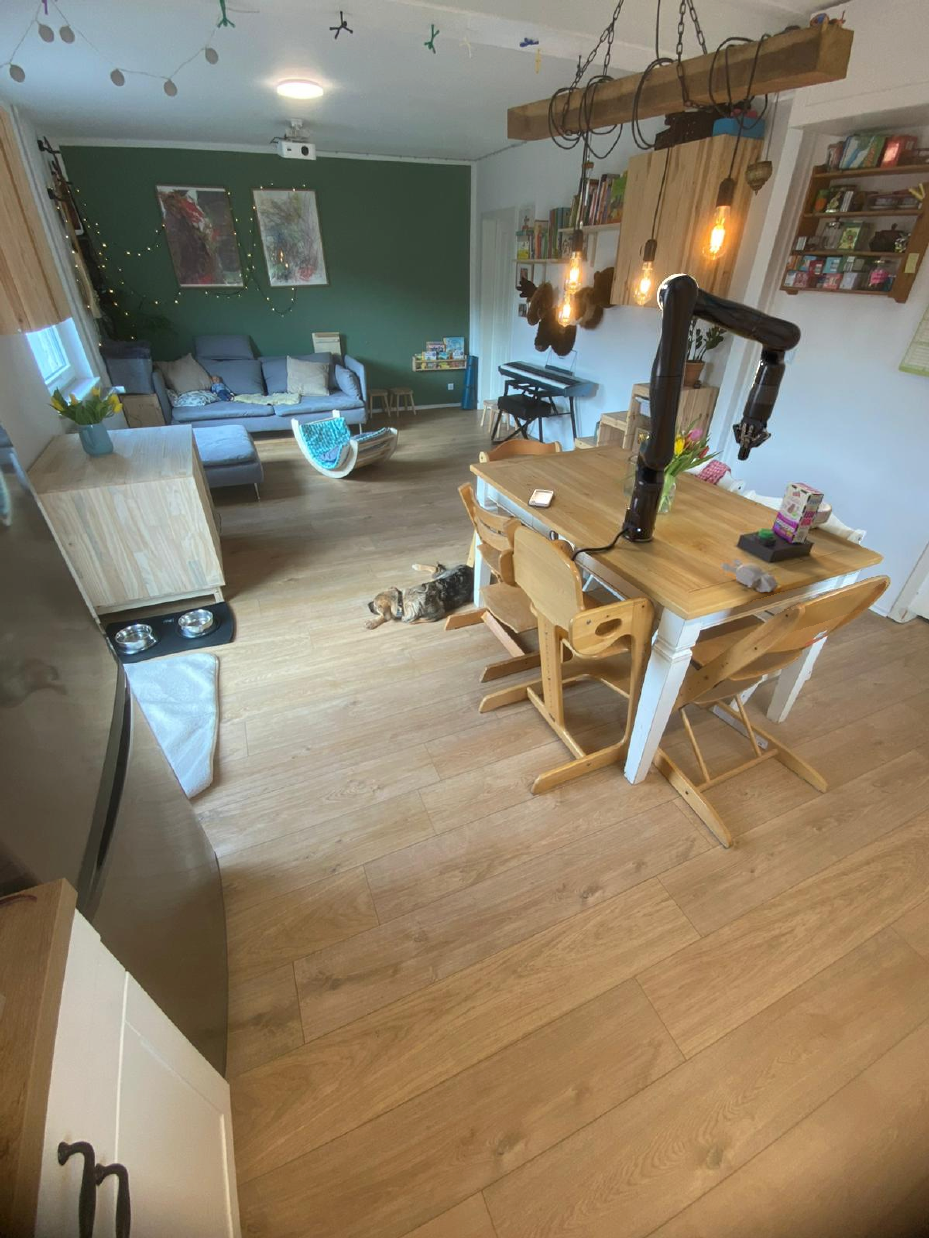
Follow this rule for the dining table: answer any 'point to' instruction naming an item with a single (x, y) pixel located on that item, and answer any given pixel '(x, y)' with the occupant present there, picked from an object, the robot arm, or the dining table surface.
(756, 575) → the bunny figurine
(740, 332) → the robot arm
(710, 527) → the dining table surface
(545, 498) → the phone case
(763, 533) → the button
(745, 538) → the black button box
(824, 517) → the paper bowls
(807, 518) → the candy bar box
